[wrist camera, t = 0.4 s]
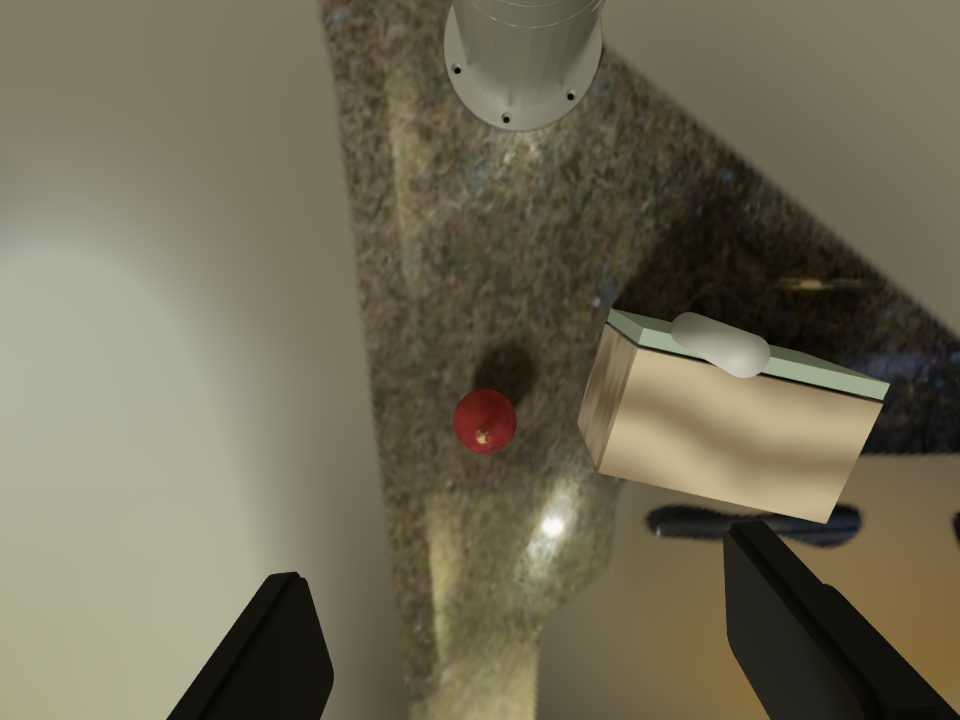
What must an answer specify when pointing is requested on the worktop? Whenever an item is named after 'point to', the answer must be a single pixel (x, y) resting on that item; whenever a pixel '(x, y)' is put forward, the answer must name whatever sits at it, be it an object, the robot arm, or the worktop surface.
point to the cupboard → (721, 429)
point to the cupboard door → (740, 351)
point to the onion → (484, 421)
